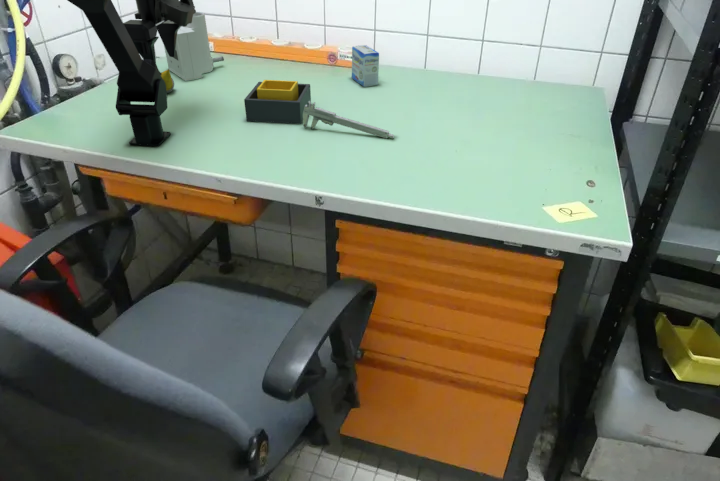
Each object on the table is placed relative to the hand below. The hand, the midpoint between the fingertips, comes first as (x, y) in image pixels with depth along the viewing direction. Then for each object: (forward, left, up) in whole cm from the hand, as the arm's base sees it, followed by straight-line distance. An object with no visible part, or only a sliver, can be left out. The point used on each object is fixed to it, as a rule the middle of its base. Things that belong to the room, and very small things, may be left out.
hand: (163, 62), depth 117 cm
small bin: (+4, -24, -11) cm, 27 cm away
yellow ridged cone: (+14, +7, -12) cm, 20 cm away
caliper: (-5, -42, -12) cm, 44 cm away
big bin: (+4, -24, -12) cm, 27 cm away
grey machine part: (+32, +5, -12) cm, 34 cm away
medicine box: (+29, -42, -12) cm, 52 cm away
